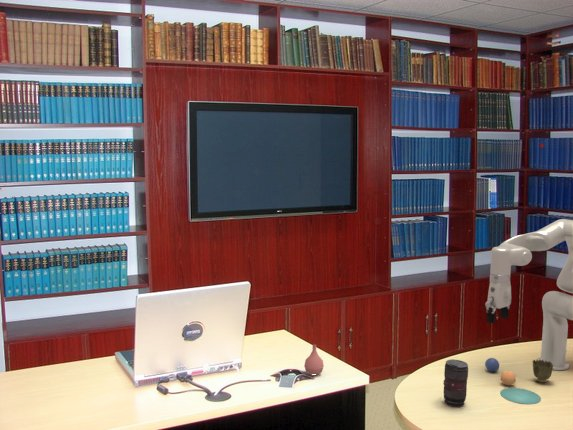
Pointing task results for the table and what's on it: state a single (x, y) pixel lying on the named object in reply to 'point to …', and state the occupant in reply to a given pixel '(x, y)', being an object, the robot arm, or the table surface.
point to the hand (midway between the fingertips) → (497, 320)
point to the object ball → (508, 378)
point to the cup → (542, 370)
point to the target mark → (520, 396)
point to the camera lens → (455, 382)
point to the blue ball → (492, 364)
